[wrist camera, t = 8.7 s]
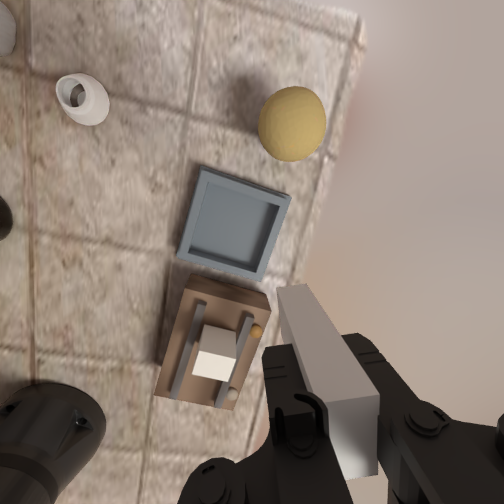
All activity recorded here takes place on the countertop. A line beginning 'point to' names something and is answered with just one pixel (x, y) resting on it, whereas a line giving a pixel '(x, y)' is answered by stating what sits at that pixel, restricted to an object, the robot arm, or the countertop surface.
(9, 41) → the garlic
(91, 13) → the countertop surface
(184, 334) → the switch box
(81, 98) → the white conical ring
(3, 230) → the supplement bottle
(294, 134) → the light bulb
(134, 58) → the countertop surface
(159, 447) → the countertop surface
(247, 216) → the tray
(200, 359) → the toggle
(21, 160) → the countertop surface
